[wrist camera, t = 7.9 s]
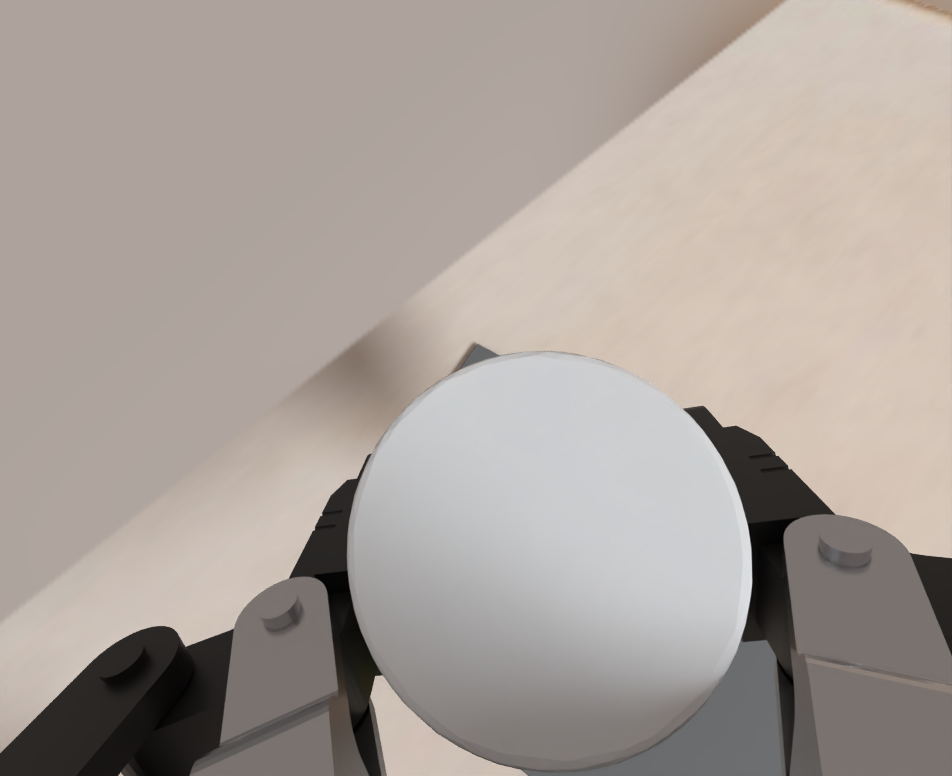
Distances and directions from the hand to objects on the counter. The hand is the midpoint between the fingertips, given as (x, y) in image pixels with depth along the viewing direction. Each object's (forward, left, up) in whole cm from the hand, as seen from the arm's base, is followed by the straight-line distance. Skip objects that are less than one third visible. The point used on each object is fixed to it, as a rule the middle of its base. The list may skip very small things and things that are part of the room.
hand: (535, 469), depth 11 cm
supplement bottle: (+1, -1, -4) cm, 5 cm away
